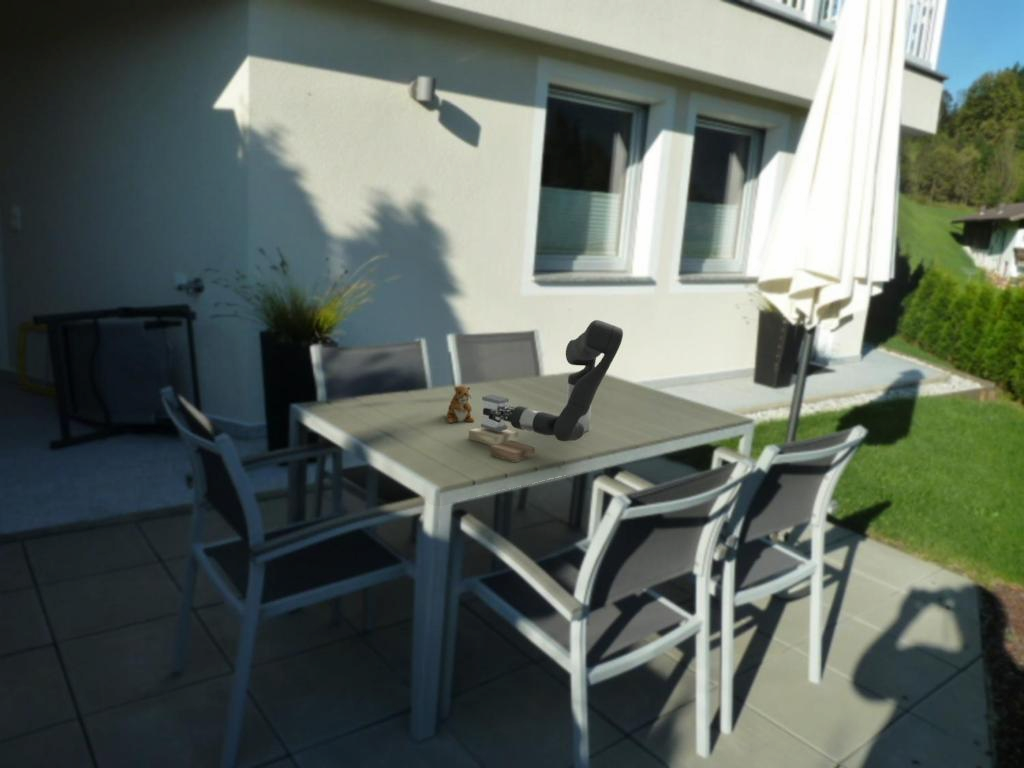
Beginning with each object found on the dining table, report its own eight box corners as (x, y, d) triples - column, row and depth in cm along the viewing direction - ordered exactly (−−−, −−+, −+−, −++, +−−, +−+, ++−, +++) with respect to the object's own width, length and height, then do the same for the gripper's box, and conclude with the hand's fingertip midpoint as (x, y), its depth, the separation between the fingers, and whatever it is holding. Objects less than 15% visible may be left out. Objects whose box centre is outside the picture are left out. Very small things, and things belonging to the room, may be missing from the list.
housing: (490, 424, 264) (491, 394, 262) (507, 429, 260) (508, 398, 257) (480, 427, 260) (482, 396, 258) (497, 431, 256) (499, 400, 254)
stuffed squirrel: (449, 424, 276) (450, 389, 274) (441, 414, 290) (443, 380, 287) (475, 423, 279) (477, 389, 277) (467, 414, 293) (468, 380, 290)
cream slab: (491, 432, 269) (491, 424, 268) (517, 439, 262) (518, 431, 261) (468, 438, 260) (469, 430, 259) (495, 446, 253) (495, 437, 252)
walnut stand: (510, 448, 251) (510, 440, 250) (533, 456, 245) (534, 447, 244) (490, 454, 243) (490, 445, 243) (514, 462, 237) (515, 453, 237)
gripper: (541, 405, 255) (502, 396, 265) (514, 411, 244) (475, 402, 254) (540, 426, 256) (501, 417, 267) (513, 434, 245) (474, 423, 256)
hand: (489, 409), depth 260 cm, fingers closed on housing, 5 cm apart
